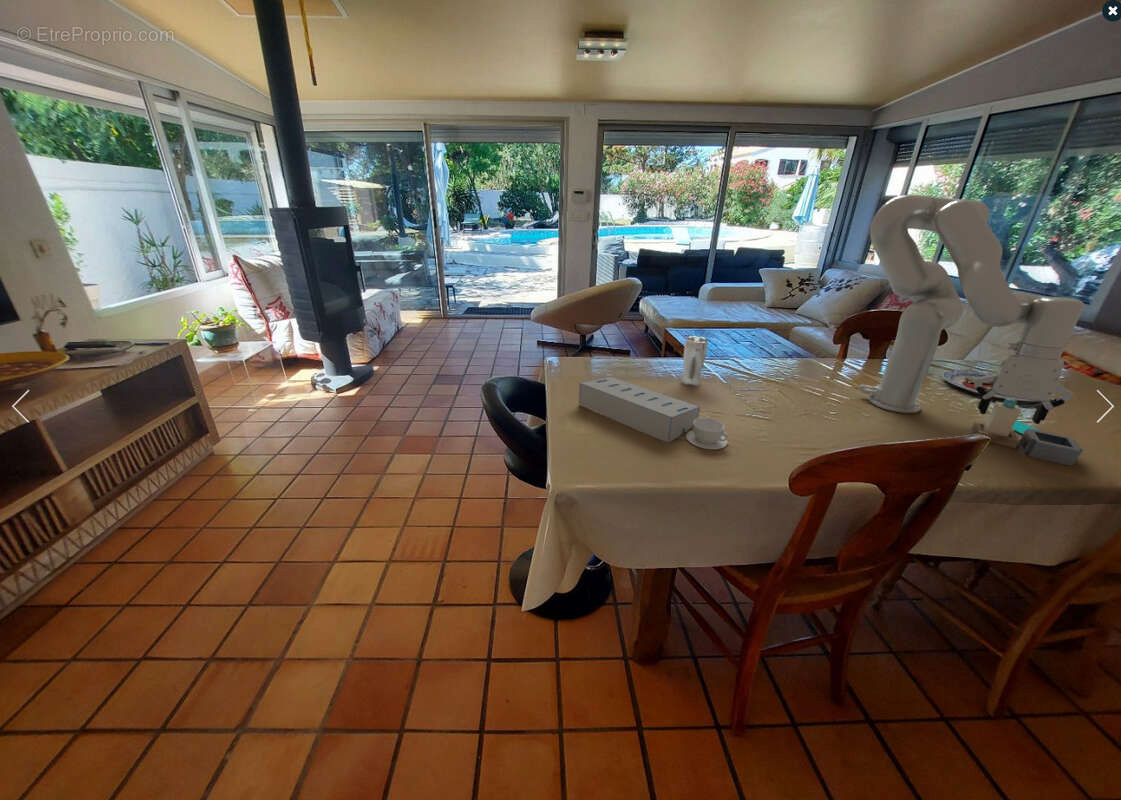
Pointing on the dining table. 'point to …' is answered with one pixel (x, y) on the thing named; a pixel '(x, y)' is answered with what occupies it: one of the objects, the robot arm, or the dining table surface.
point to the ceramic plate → (971, 381)
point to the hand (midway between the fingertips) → (1007, 417)
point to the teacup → (707, 434)
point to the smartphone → (1021, 427)
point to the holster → (998, 439)
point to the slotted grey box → (639, 407)
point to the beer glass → (694, 360)
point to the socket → (1050, 447)
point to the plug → (1002, 418)
